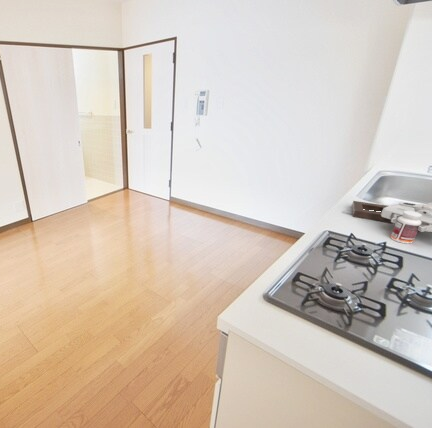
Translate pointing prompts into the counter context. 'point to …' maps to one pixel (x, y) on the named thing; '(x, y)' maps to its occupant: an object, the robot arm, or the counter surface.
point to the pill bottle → (406, 227)
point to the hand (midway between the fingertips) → (406, 224)
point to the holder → (366, 214)
